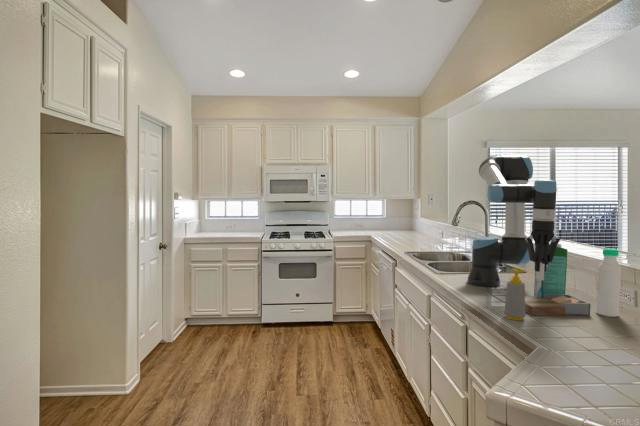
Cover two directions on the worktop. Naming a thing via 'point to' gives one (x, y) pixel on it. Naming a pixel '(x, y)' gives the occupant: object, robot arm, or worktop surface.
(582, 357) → the worktop surface
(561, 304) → the tile
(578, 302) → the tile
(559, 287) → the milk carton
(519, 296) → the soap bottle
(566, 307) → the tray
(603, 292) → the water bottle
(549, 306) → the walnut board
